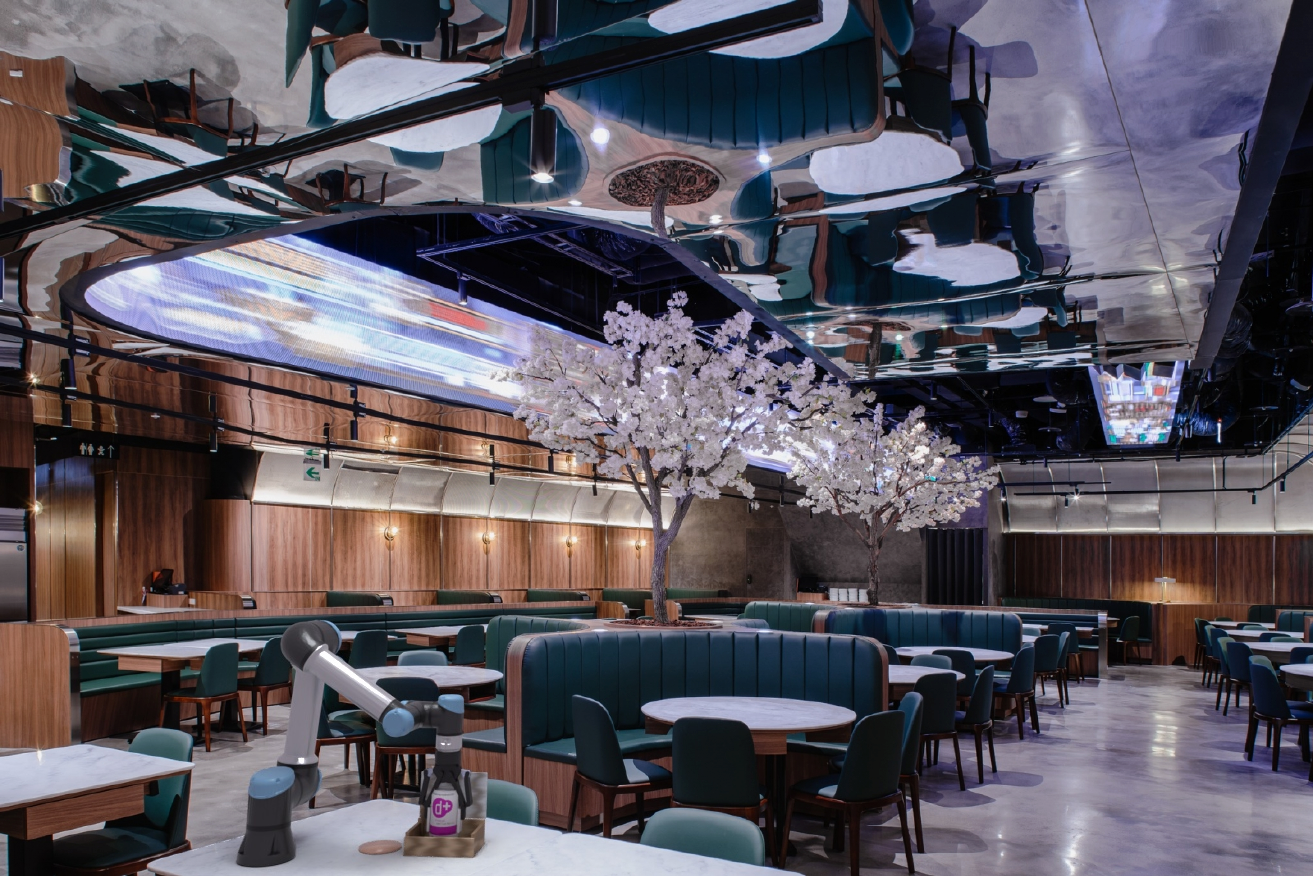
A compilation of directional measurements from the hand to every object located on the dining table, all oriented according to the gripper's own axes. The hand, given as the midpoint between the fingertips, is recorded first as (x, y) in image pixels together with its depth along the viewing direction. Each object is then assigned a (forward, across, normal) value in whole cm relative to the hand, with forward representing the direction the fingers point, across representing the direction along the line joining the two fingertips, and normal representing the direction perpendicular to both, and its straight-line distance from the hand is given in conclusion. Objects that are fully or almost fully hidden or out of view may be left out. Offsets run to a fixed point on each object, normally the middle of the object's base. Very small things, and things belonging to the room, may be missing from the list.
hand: (444, 830), depth 259 cm
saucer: (+5, -18, 0) cm, 19 cm away
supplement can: (+4, 0, 0) cm, 4 cm away
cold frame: (+5, 0, 0) cm, 5 cm away
